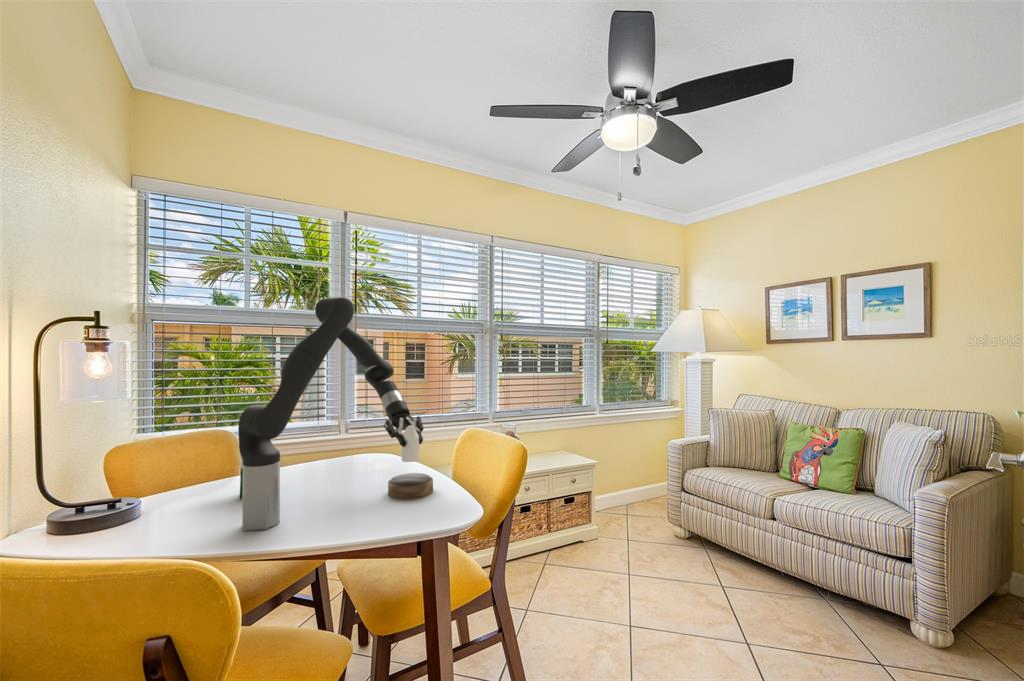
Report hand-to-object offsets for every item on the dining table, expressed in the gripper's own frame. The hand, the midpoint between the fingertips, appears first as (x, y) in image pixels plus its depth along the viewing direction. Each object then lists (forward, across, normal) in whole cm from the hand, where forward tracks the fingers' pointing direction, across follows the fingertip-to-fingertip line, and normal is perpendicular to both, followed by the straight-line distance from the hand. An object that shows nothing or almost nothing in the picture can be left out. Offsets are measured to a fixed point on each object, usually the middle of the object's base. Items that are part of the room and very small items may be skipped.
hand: (413, 443), depth 156 cm
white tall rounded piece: (+3, 0, +6) cm, 6 cm away
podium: (+11, 0, +13) cm, 17 cm away
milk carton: (-15, -38, +39) cm, 56 cm away
